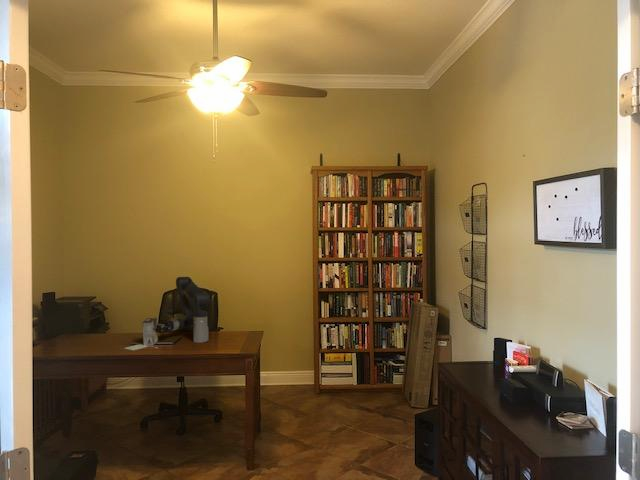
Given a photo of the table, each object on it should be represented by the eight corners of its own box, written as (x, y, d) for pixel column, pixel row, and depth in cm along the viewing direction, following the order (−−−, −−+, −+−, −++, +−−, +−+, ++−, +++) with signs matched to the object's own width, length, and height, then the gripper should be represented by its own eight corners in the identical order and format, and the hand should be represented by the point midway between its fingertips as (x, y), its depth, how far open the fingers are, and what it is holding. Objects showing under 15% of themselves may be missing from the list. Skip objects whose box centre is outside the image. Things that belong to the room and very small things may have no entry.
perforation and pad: (141, 344, 307) (141, 343, 307) (157, 347, 299) (157, 346, 299) (124, 348, 295) (124, 347, 295) (141, 352, 288) (141, 351, 288)
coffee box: (148, 340, 314) (147, 317, 312) (158, 340, 314) (157, 317, 312) (143, 345, 305) (142, 321, 303) (152, 345, 305) (151, 322, 302)
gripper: (164, 319, 328) (144, 322, 314) (178, 321, 320) (159, 324, 306) (163, 329, 328) (144, 333, 314) (177, 332, 320) (158, 336, 306)
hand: (151, 329), depth 310 cm, fingers open, 8 cm apart
